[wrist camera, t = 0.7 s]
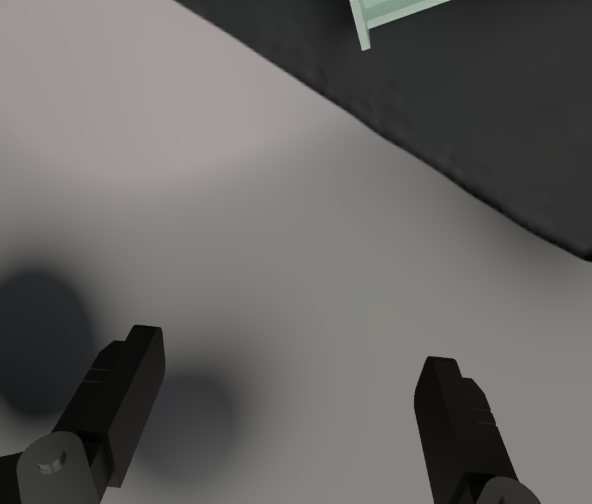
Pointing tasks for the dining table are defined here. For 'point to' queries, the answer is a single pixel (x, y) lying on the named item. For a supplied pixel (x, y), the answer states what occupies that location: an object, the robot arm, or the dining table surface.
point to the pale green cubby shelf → (383, 13)
